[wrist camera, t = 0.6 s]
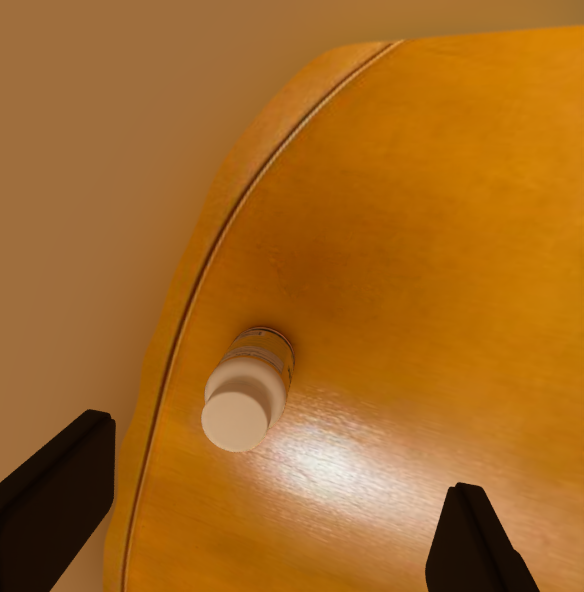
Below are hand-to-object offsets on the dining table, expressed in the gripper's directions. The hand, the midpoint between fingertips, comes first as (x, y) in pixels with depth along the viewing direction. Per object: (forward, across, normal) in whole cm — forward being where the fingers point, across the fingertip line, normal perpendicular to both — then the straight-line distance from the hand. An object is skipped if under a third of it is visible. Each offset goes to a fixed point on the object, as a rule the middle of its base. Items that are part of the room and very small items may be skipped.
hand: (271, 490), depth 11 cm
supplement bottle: (+20, +3, +5) cm, 21 cm away
